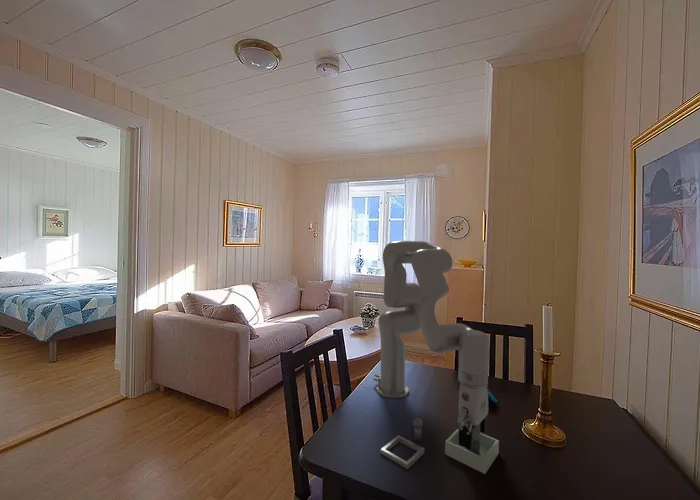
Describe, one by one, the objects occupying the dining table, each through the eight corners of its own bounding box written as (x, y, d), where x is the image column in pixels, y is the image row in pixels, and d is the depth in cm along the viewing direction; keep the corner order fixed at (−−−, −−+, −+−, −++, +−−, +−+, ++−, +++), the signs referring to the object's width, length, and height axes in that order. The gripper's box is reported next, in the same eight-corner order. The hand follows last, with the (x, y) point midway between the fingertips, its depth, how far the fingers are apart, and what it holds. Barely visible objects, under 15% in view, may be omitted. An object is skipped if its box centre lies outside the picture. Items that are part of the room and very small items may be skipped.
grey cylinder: (476, 458, 81) (477, 426, 81) (461, 451, 84) (462, 420, 84) (481, 451, 84) (482, 419, 84) (467, 444, 87) (468, 414, 86)
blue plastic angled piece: (501, 404, 107) (479, 381, 110) (488, 415, 108) (467, 392, 110) (495, 394, 118) (475, 373, 120) (483, 404, 118) (464, 383, 121)
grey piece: (380, 453, 84) (380, 431, 84) (407, 431, 94) (407, 411, 94) (407, 469, 78) (407, 445, 78) (433, 444, 88) (433, 422, 88)
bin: (445, 454, 84) (445, 441, 83) (461, 436, 91) (461, 424, 91) (485, 474, 76) (485, 459, 76) (498, 453, 84) (498, 440, 84)
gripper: (474, 391, 75) (473, 461, 75) (497, 371, 87) (496, 430, 88) (445, 382, 80) (445, 447, 80) (471, 364, 92) (470, 420, 93)
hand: (472, 438), depth 84 cm, fingers open, 9 cm apart
